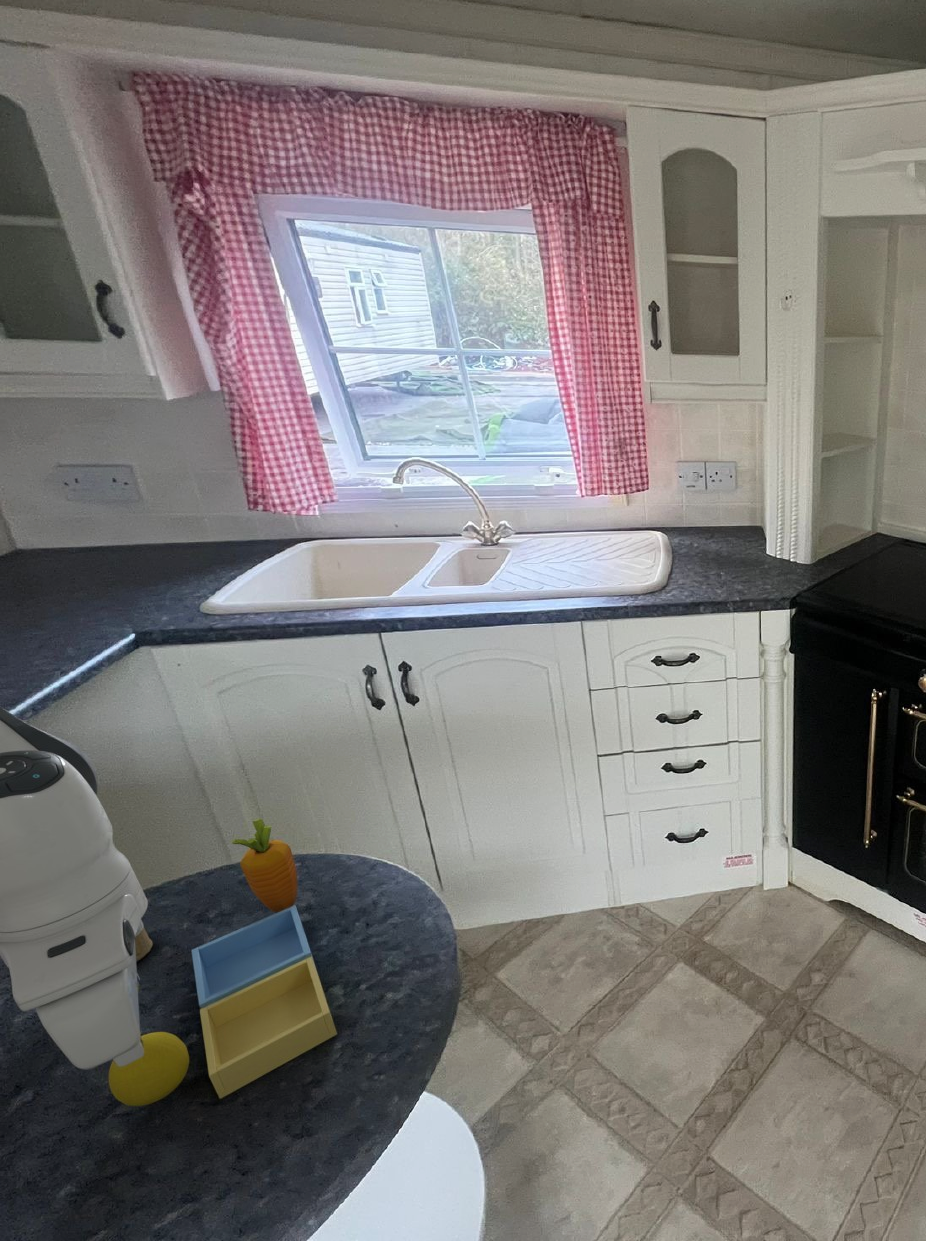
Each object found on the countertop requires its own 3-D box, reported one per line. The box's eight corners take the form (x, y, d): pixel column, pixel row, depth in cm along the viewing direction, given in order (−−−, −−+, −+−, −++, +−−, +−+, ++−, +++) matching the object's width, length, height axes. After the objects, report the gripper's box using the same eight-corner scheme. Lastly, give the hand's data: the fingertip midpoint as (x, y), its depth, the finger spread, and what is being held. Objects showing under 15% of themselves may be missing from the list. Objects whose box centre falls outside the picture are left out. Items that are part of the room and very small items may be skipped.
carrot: (290, 931, 90) (257, 840, 84) (253, 929, 90) (217, 838, 84) (319, 901, 95) (289, 813, 89) (283, 899, 95) (251, 811, 89)
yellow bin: (219, 1099, 71) (208, 1076, 70) (209, 1031, 77) (199, 1009, 76) (337, 1034, 78) (329, 1012, 76) (319, 977, 84) (311, 955, 83)
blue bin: (209, 1027, 78) (198, 1005, 77) (200, 971, 84) (191, 949, 83) (317, 973, 85) (310, 952, 83) (302, 925, 91) (295, 904, 90)
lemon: (115, 1134, 68) (84, 1080, 65) (138, 1081, 72) (110, 1029, 69) (189, 1107, 70) (163, 1054, 67) (206, 1058, 75) (182, 1007, 72)
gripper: (28, 872, 67) (85, 974, 72) (11, 1014, 54) (82, 1126, 59) (121, 840, 71) (168, 939, 76) (126, 964, 58) (182, 1073, 63)
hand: (130, 1022), depth 67 cm, fingers open, 8 cm apart
